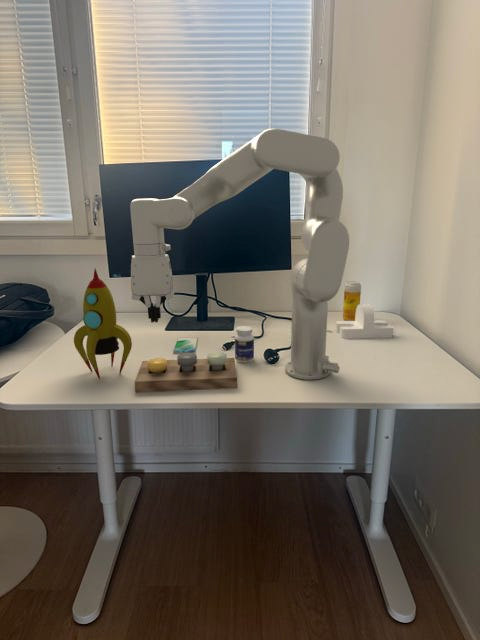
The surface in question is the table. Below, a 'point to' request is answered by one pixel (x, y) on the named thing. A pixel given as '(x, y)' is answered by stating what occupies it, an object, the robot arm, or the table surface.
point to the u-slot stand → (364, 325)
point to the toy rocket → (100, 326)
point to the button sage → (217, 360)
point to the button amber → (157, 365)
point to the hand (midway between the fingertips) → (154, 320)
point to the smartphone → (185, 345)
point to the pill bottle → (244, 344)
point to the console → (187, 377)
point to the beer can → (351, 300)
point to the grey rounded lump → (187, 361)
